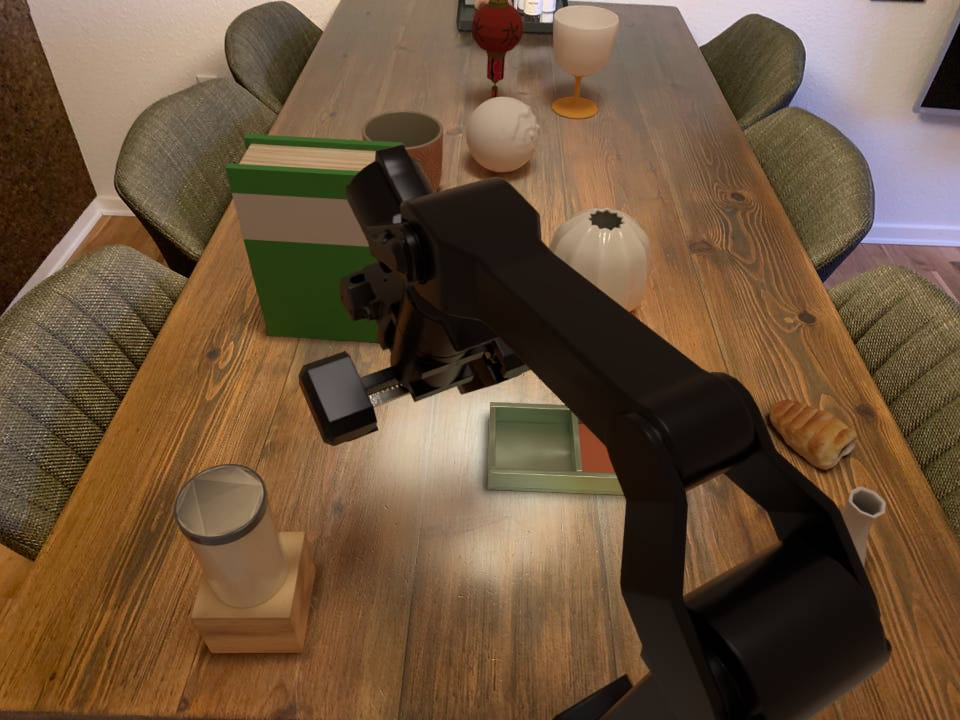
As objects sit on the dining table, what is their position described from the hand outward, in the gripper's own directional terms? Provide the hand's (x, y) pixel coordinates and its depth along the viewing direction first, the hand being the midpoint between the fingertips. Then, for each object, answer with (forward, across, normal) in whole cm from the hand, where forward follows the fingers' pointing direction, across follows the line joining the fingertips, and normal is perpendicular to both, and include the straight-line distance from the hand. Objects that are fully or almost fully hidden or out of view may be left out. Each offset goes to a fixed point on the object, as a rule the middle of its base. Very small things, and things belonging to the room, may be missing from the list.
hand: (414, 407), depth 63 cm
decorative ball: (+34, -41, -46) cm, 71 cm away
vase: (+21, -35, -12) cm, 43 cm away
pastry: (+10, -43, +18) cm, 48 cm away
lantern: (+41, -51, -64) cm, 92 cm away
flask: (+6, -33, +28) cm, 44 cm away
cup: (+38, -66, -58) cm, 96 cm away
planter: (+34, -24, -47) cm, 62 cm away
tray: (+14, -18, +7) cm, 24 cm away
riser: (+13, +17, +9) cm, 24 cm away
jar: (+7, +17, +6) cm, 20 cm away
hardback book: (+25, -3, -23) cm, 35 cm away
